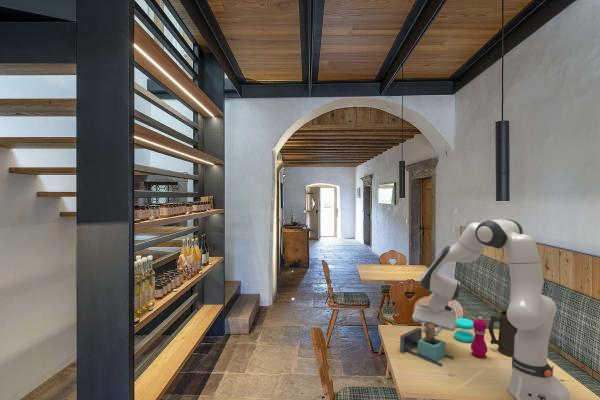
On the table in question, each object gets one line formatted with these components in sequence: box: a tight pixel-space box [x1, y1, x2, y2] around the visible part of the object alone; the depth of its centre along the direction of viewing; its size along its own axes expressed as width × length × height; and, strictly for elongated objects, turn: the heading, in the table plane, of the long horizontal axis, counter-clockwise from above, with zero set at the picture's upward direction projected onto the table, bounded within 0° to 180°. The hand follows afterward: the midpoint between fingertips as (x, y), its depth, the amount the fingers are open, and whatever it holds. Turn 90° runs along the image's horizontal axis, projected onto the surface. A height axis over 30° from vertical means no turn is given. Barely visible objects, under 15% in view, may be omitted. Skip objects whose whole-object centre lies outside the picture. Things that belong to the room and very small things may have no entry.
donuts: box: [453, 317, 475, 343], centre depth 191 cm, size 10×10×10 cm
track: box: [399, 327, 454, 367], centre depth 170 cm, size 20×16×9 cm
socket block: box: [416, 336, 446, 362], centre depth 169 cm, size 9×9×7 cm
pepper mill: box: [470, 316, 488, 359], centre depth 170 cm, size 7×7×20 cm
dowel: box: [425, 322, 436, 345], centre depth 169 cm, size 4×4×12 cm
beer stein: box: [487, 310, 518, 358], centre depth 176 cm, size 15×11×20 cm
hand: (429, 333), depth 169 cm, fingers closed on dowel, 4 cm apart
